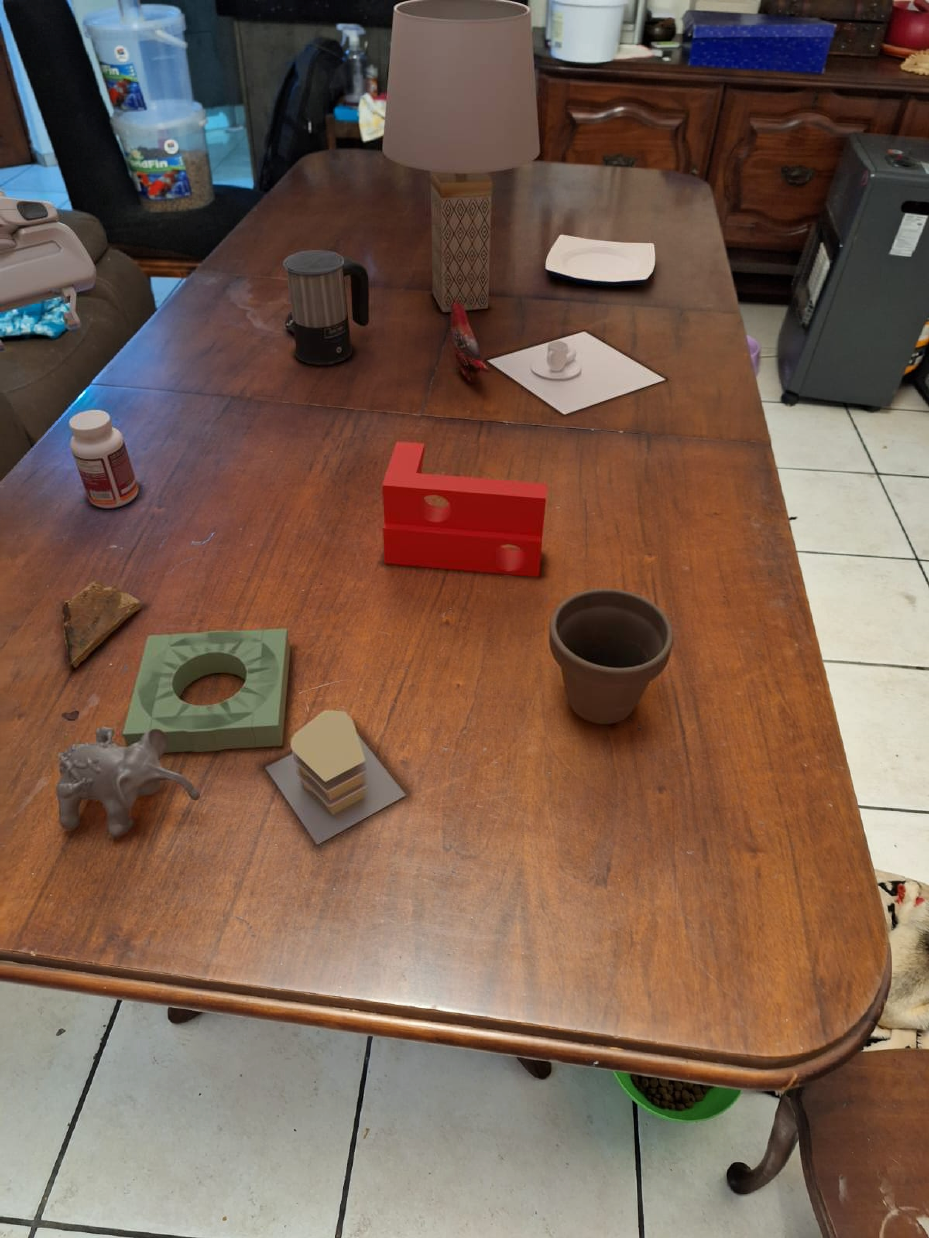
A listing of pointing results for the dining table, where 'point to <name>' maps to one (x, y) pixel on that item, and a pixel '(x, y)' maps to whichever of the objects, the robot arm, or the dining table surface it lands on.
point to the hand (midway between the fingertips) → (37, 338)
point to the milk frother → (324, 304)
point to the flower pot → (608, 650)
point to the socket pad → (221, 725)
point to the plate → (600, 261)
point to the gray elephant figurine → (113, 777)
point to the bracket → (460, 519)
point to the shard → (94, 618)
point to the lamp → (461, 123)
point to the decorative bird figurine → (465, 342)
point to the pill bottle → (102, 460)
